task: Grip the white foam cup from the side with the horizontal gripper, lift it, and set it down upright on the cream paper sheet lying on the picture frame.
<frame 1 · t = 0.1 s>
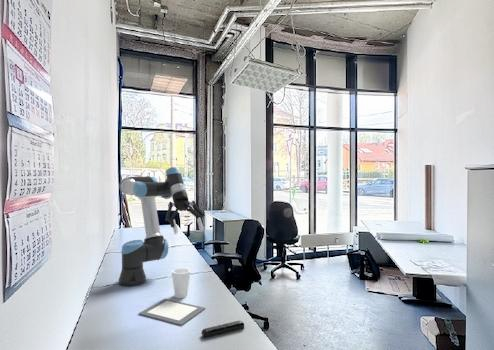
hand: (189, 231, 154), 36 cm above the table, tool tilted 35°, fingers open, 13 cm apart
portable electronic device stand: (223, 333, 129), on the table
foam cup: (181, 296, 166), on the table
picture frame: (172, 311, 147), on the table
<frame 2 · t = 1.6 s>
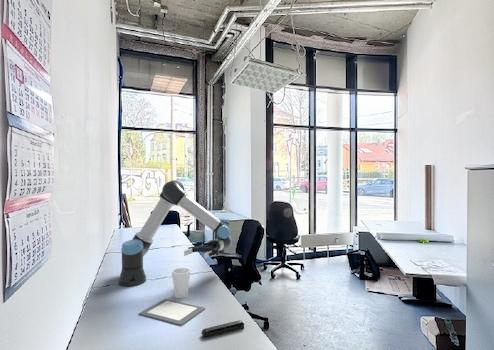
hand: (194, 254, 176), 19 cm above the table, tool horizontal, fingers open, 13 cm apart
nothing on the table moved.
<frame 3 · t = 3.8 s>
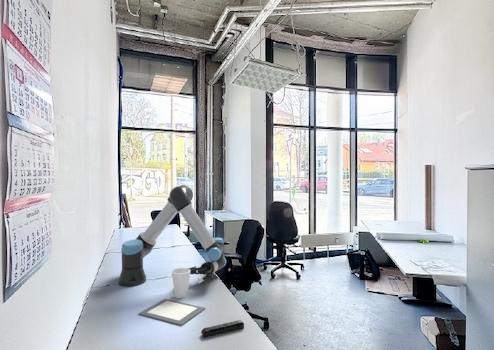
hand: (188, 278, 170), 7 cm above the table, tool horizontal, fingers open, 13 cm apart
nothing on the table moved.
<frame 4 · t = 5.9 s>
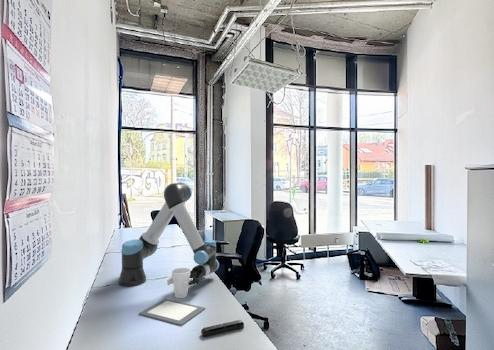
hand: (175, 284, 162), 8 cm above the table, tool horizontal, fingers closed on foam cup, 9 cm apart
foam cup: (181, 296, 166), on the table, touching gripper
everything else where it was.
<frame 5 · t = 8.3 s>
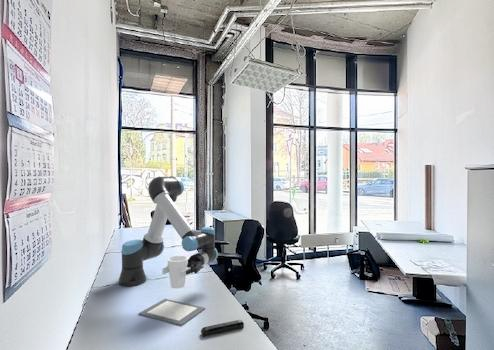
hand: (172, 273, 147), 18 cm above the table, tool horizontal, fingers closed on foam cup, 9 cm apart
foam cup: (177, 286, 151), point 10 cm above the table, touching gripper
when the fingers open (9 cm above the table, at t = 10.7 s): foam cup drops 1 cm, resting on picture frame.
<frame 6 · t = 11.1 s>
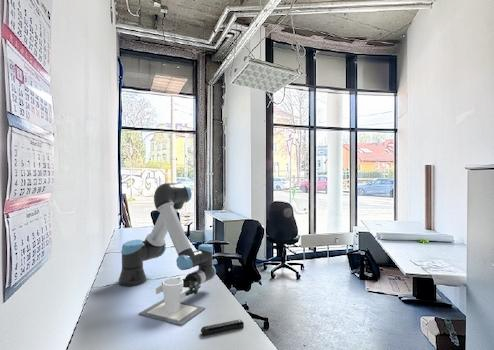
hand: (168, 293, 144), 9 cm above the table, tool horizontal, fingers open, 13 cm apart
foam cup: (172, 310, 147), point 1 cm above the table, touching picture frame
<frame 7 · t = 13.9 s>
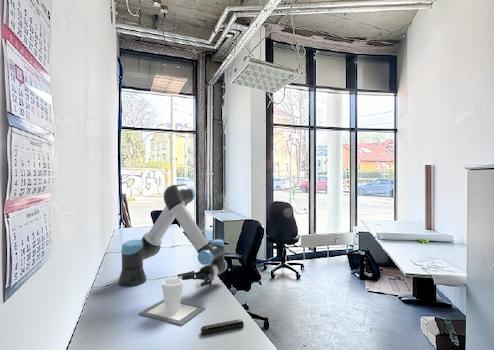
hand: (184, 284, 155), 10 cm above the table, tool horizontal, fingers open, 13 cm apart
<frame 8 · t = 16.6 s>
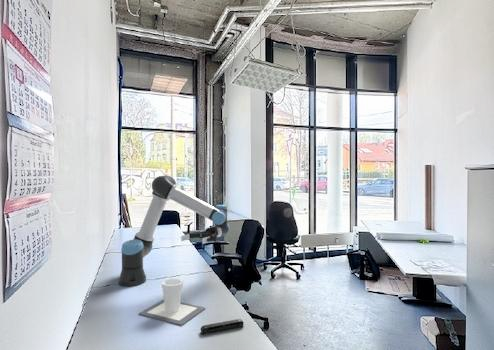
hand: (192, 239, 171), 28 cm above the table, tool horizontal, fingers open, 13 cm apart
at the end: foam cup inside the target area on the picture frame (0.1 cm from its centre), point 0.6 cm above the picture frame's base; foam cup tilted 0°; the gripper is holding nothing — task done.
